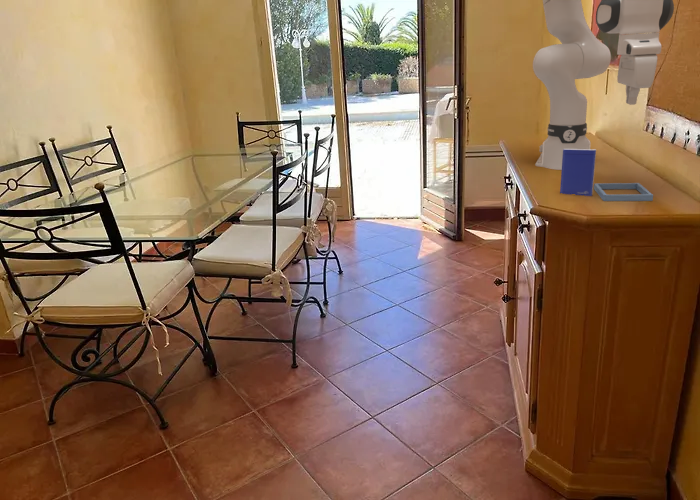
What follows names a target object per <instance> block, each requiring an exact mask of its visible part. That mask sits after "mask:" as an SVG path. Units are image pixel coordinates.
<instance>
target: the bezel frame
mask: <svg viewBox="0 0 700 500" xmlns="http://www.w3.org/2000/svg"><path fill="white" fill-rule="evenodd" d="M604 190H637V192H638V193H637V194H632V193H631V194H630V193H629V194H627V193H626V194H607V193H606V192H605V191H604ZM593 191H595V192H596V194H597V195H598V196H599V197H600V199H601V200H602V201H603V202H630V201H631V202H634V201H635V202H639V201H641V202H649V201H650V202H651V201H652V202H653V200H654V199H653V198H654V194H653V193H651V192H650V191H649V190H648V189H647V188H646V187H644V185H642V184H641V183H640V182H627V183H626V182H625V183H624V182H623V183H622V182H615V183H613V182H612V183H609V182H608V183H593ZM639 193H640V194H639Z"/></svg>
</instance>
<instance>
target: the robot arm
mask: <svg viewBox="0 0 700 500" xmlns="http://www.w3.org/2000/svg"><path fill="white" fill-rule="evenodd" d="M582 3H583V1H582V0H542V4H543V7H542V8H543V12H544V16H545V17H544V18H545V19H544V20H545V24H546V29H547V31H548V33H549V34H550V35H552V36H553V37H555V39H558V41H560V43H558V44H557V43H556V44H551V45H548V46H545V47H542V48H540V49H539V50H538V51H536V53H535V55H534V57H533V61H532V70H533V73H534V75H535V76H536V77H537V79H538V80H540V81H541V82H542V84H544V86H545V88H546V91H547V93H548V97H549V108H550V109H549V123H548V126H547V137H546V138H545V140H544V141H543V142H542V144H540V146H539V153H540V156H539V157H538V159H537V161H536V162H535V164H534V165H535V166H536V167H541V168H546V169H551V170H557V171H558V170H560V171H562V158H563V149H591V140H590V139H589V138H588V137H587V136H586V135H587V132H588V124H587V110H588V99H587V97H586V95H585V94H584V93H581V92H580V91H579V90H578V89H577V86H576V85H577V84H576V80H580V79H583V80H584V79H590V78H593V77H597V76H599V75H601V74H604V73H606V71H607V69H608V68H609V67H610V63H611V59H612V54H611V51H610V48H609V47H608V46H607V45H606V44H604V43H603V42H602V41H600V40H599V39H598V38H597V37H596V35H594V33H593V31H592V30H591V29H590V26H589V24H588V23H587V20H586V17H585V13H584V7H583V4H582ZM674 10H675V5H674V0H601V1H600V2H599V4H598V6H597V9H596V12H595V24H596V26H597V28H598V29H599V30H600V31H601V33H604V34H611V35H612V34H618V42H617V52H616V55H618V56H620V59H619V64H618V71H617V80H616V81H617V83H618V84H621V85H625V95H626V99H625V103H626V104H628V105H629V106H634V105H636V104H637V101H638V96H639V93H640V90H641V89H648V88H652V85H653V83H654V80H655V75H656V69H657V65H658V55H660V54H661V53H662V48H663V47H662V44H661V41H660V31H661V30H662V29H663V28H664V27H665V26H666V25H667V24H668V23H669V22H670V20H671V19H672V17H673V14H674Z"/></svg>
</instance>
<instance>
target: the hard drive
mask: <svg viewBox="0 0 700 500" xmlns="http://www.w3.org/2000/svg"><path fill="white" fill-rule="evenodd" d="M596 154H597V149H596V148H594V149H591V148H590V149H563V158H562V170H561V175H560V176H561V177H560V189H559V194H561V193H562V194H564V195H572V194H575V195H574V196H583V195H584V196H585V197H592V196H593V191H594V179H595V168H596V157H597V156H596ZM562 194H561V195H562Z"/></svg>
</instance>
